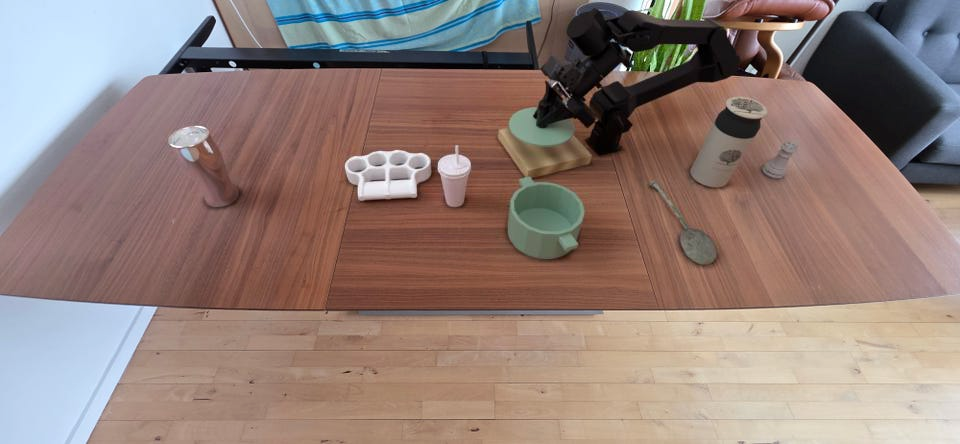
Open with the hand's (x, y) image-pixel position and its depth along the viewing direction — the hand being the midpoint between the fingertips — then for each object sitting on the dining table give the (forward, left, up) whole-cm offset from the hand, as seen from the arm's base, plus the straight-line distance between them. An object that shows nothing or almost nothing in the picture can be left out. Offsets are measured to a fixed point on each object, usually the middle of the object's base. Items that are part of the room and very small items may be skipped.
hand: (536, 121), depth 93 cm
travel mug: (-34, +20, -9) cm, 41 cm away
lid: (-1, 0, -2) cm, 2 cm away
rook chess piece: (-49, +24, -9) cm, 56 cm away
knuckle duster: (+33, -3, -9) cm, 34 cm away
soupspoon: (-18, +29, -9) cm, 36 cm away
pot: (+9, +22, -9) cm, 26 cm away
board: (-3, -1, -9) cm, 10 cm away
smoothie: (+22, +8, -9) cm, 25 cm away
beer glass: (+66, -9, -9) cm, 67 cm away
